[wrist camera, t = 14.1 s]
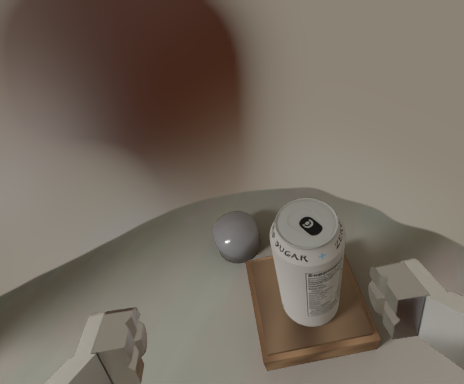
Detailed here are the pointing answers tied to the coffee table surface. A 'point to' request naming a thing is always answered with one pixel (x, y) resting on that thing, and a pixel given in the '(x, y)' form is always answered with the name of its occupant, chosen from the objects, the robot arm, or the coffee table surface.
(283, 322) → the wooden tray
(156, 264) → the coffee table surface
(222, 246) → the grey rounded cylinder
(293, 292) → the energy drink can
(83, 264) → the coffee table surface
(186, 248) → the coffee table surface
